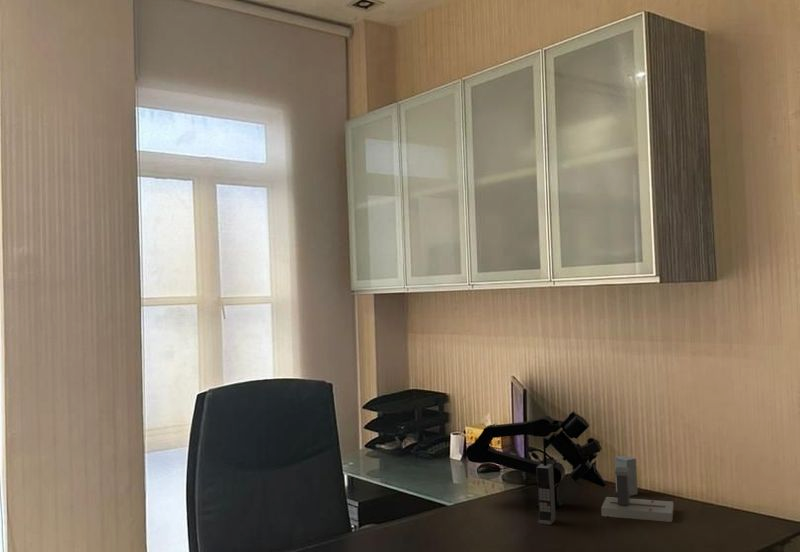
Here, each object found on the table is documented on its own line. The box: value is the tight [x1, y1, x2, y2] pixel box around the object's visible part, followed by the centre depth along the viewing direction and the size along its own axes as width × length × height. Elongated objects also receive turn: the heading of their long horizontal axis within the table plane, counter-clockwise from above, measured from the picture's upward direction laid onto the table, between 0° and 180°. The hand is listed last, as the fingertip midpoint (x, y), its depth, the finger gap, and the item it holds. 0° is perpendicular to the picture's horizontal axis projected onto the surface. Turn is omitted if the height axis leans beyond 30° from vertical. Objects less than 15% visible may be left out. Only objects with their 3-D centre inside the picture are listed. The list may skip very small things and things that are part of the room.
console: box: [600, 496, 675, 523], centre depth 216 cm, size 20×12×3 cm, turn 67°
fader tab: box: [614, 467, 631, 505], centre depth 218 cm, size 4×6×10 cm, turn 157°
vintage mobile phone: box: [536, 437, 556, 526], centre depth 212 cm, size 4×5×25 cm
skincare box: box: [614, 454, 638, 497], centre depth 237 cm, size 6×4×12 cm
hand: (604, 485), depth 220 cm, fingers closed
